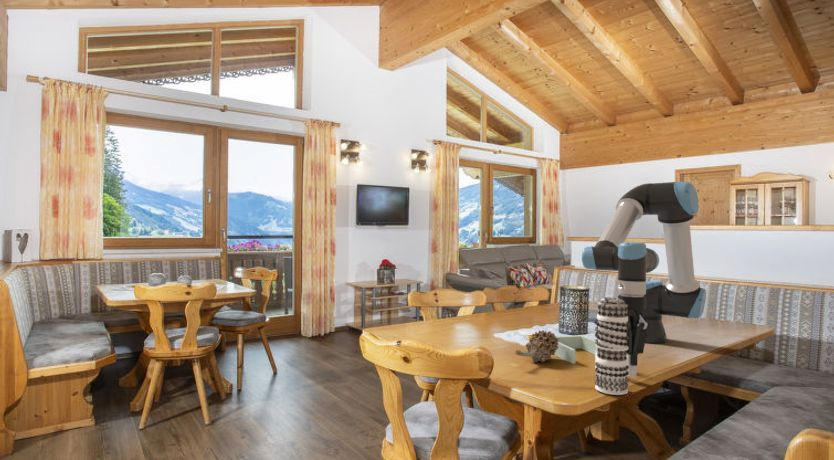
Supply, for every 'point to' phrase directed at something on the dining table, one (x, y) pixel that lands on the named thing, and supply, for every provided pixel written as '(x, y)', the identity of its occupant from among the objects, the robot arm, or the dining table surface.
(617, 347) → the decorative candle
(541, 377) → the dining table surface
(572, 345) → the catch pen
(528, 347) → the pine cone
